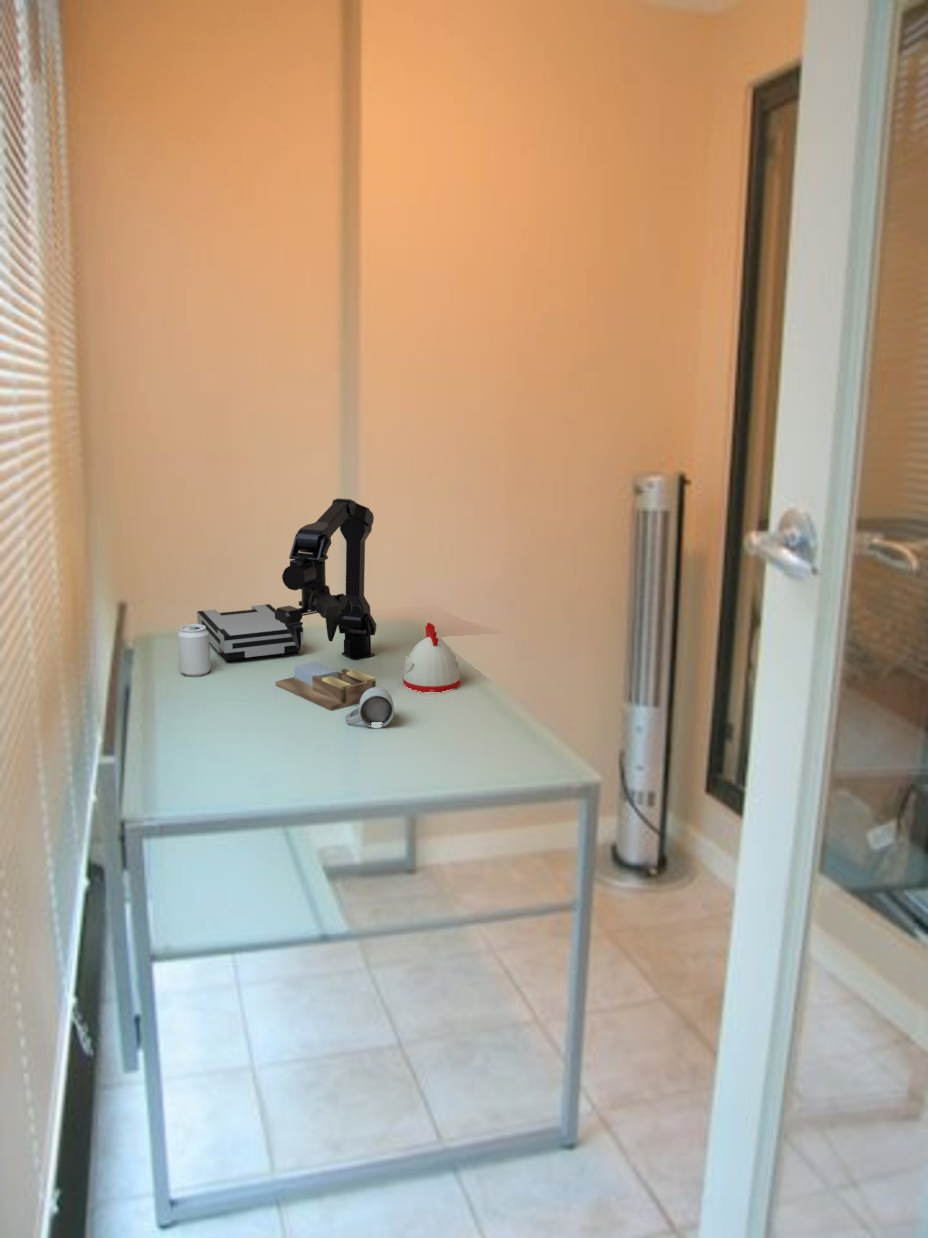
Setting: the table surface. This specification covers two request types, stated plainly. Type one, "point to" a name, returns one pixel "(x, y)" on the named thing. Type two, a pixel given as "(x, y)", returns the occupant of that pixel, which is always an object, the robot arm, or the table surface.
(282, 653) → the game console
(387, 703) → the ceramic mug
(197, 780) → the table surface
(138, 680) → the table surface
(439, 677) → the kitchen timer
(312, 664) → the blue-grey rectangular block
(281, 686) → the board
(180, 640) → the can
